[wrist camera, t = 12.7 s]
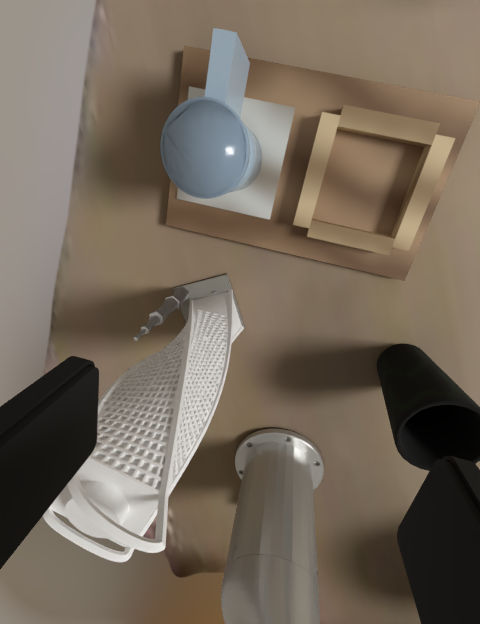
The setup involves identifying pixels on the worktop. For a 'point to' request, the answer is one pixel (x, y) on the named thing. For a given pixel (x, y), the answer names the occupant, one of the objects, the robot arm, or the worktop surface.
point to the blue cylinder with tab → (213, 129)
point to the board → (339, 171)
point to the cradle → (417, 192)
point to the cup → (427, 409)
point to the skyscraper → (152, 426)
